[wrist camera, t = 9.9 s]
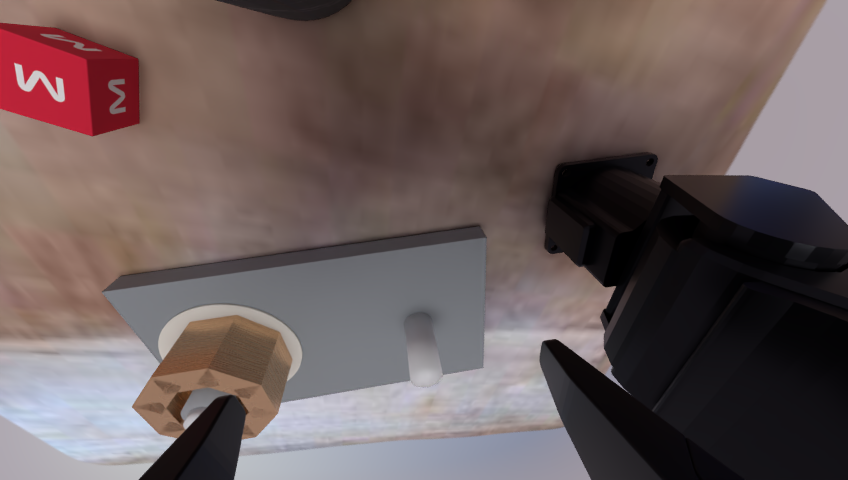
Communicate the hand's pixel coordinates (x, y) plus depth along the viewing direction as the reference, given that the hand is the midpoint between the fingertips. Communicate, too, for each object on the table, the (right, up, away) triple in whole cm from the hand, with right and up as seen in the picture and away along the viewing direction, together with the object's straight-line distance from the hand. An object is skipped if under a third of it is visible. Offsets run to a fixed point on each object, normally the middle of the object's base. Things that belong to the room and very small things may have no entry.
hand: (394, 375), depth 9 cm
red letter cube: (-14, +11, +5) cm, 19 cm away
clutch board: (-6, -2, +14) cm, 16 cm away
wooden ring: (-12, -4, +12) cm, 18 cm away
